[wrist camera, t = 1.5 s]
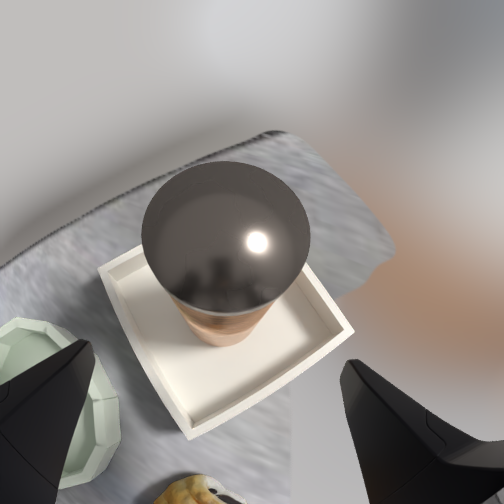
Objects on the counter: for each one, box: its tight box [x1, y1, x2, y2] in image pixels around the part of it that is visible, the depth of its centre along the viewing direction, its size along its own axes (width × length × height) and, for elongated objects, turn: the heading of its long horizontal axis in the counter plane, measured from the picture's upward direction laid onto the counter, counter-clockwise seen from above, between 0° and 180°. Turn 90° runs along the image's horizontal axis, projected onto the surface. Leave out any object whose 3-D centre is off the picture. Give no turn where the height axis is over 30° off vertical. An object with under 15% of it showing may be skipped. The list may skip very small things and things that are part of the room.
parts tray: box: [98, 244, 354, 441], centre depth 19 cm, size 13×13×3 cm
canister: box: [141, 161, 310, 347], centre depth 14 cm, size 5×5×12 cm
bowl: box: [0, 317, 121, 489], centre depth 14 cm, size 13×13×3 cm
